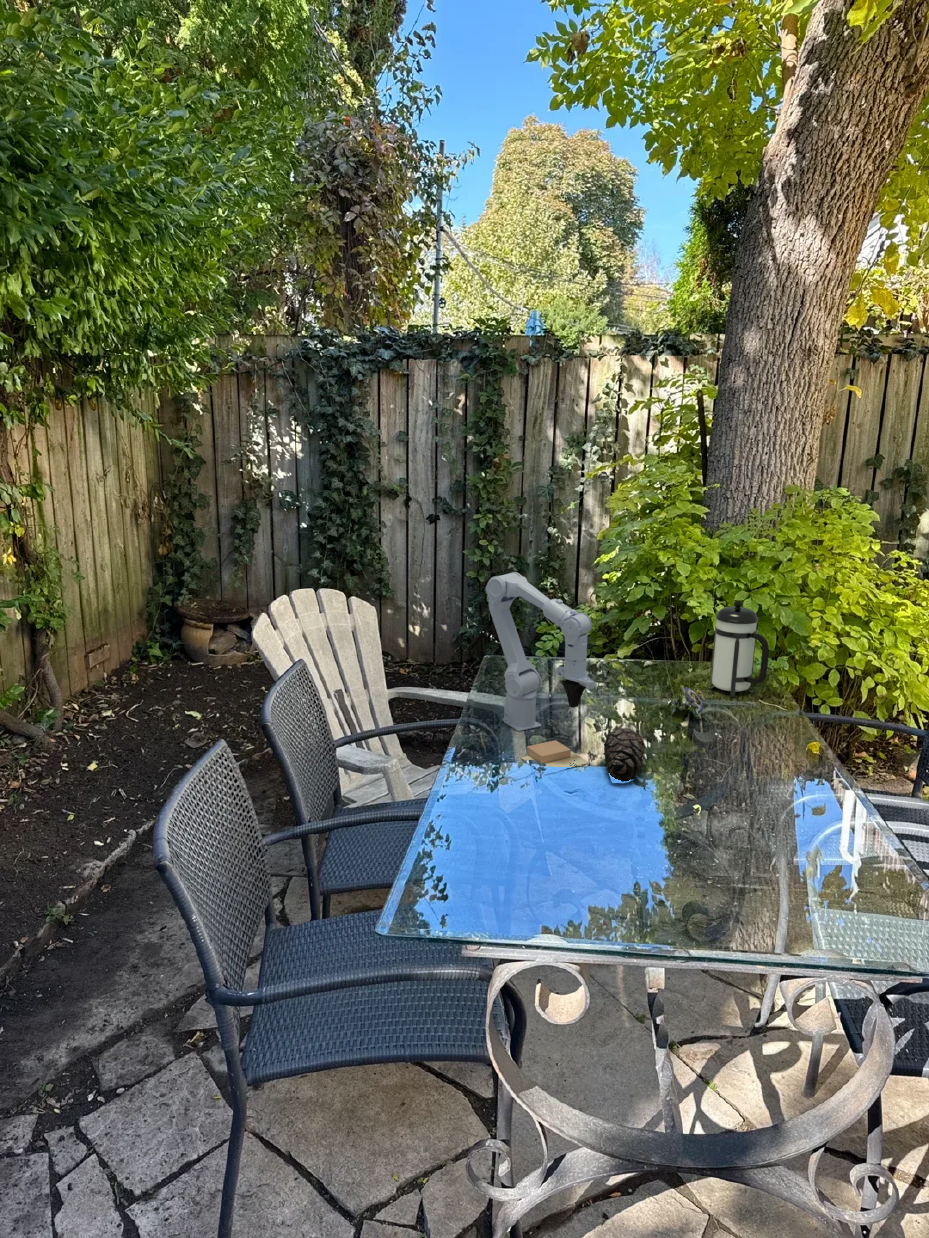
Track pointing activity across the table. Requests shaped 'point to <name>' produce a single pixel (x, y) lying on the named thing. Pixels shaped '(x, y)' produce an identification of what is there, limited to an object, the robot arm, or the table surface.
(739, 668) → the coffee press
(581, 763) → the board
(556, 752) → the block
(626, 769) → the pine cone
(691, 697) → the passion flower
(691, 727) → the table surface
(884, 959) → the table surface
